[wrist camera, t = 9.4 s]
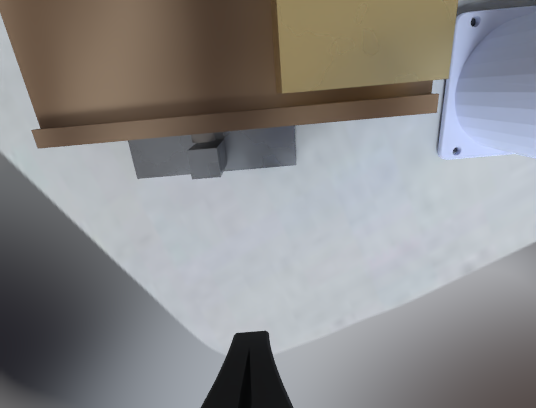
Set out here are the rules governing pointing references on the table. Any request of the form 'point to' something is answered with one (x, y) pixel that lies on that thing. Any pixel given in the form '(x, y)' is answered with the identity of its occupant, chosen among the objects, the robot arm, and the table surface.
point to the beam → (171, 72)
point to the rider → (360, 42)
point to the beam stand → (214, 153)
